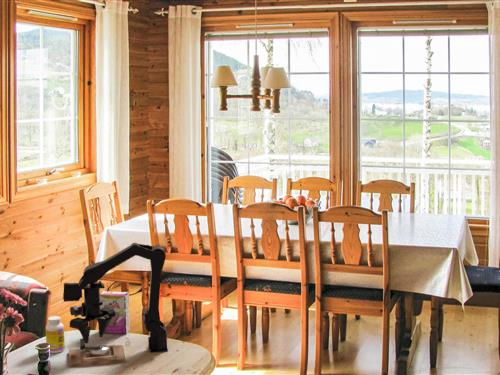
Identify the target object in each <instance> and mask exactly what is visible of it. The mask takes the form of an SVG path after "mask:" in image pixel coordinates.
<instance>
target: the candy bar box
mask: <svg viewBox="0 0 500 375" xmlns="http://www.w3.org/2000/svg"><path fill="white" fill-rule="evenodd" d="M100 302H103V305H100V309H101V308H104V307H107V308H111V309H114V311H115V317H112V320H110V322H109V324H108V326H107V328H106V330H105V332H104V334H114V335H115V334H117V335H127V334H128V333H129V332H130V326H131V324H130V292H128V291H108V290H107V291H106V290H103V291H100ZM122 333H124V334H122Z"/></svg>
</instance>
